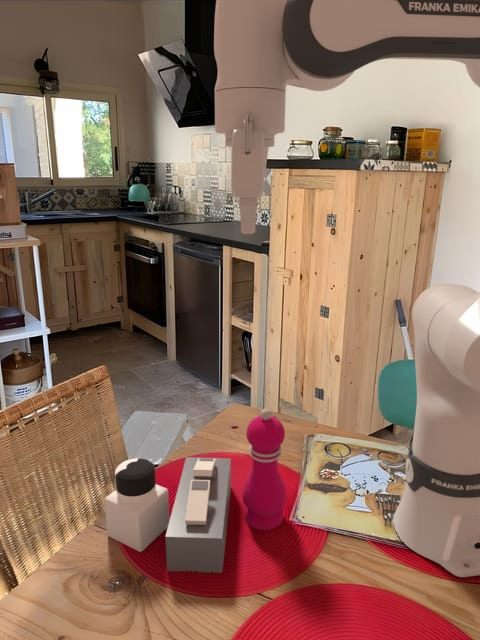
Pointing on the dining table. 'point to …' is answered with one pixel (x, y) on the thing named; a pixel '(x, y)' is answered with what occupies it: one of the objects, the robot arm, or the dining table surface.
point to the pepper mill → (264, 473)
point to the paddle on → (197, 502)
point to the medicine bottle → (136, 505)
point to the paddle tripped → (204, 467)
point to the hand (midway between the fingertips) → (249, 228)
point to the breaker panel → (200, 540)
